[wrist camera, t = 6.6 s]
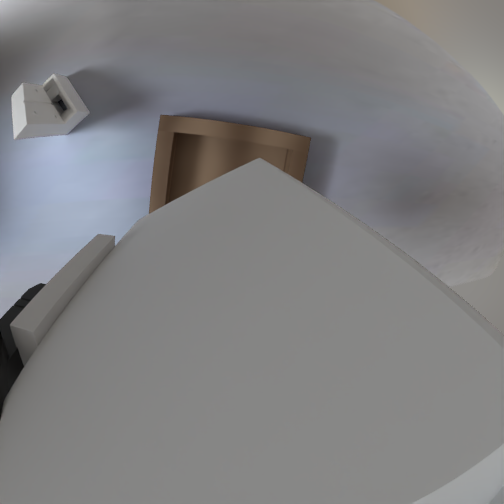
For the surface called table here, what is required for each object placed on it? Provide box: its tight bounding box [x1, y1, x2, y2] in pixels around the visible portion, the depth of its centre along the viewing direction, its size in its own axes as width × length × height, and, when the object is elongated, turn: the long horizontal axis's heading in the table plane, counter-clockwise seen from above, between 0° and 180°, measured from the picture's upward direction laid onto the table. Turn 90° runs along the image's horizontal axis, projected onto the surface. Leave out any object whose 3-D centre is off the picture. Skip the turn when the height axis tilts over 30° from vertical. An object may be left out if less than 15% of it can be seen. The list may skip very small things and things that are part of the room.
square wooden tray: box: [149, 115, 311, 214], centre depth 30 cm, size 14×14×3 cm
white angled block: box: [11, 73, 90, 140], centre depth 22 cm, size 4×10×9 cm
